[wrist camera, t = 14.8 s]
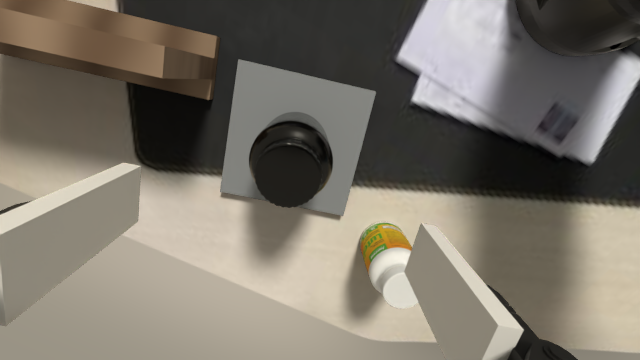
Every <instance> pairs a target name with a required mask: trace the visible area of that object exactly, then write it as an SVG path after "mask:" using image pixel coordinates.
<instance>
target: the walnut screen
mask: <svg viewBox="0 0 640 360" xmlns="http://www.w3.org/2000/svg"><path fill="white" fill-rule="evenodd" d="M219 44H220V38H219V37H217V36H213V35H209V34H205V33H201V32H197V31H193V30H188V29H184V28H180V27H176V26H172V25H168V24H163V23H159V22H155V21H151V20H147V19H143V18H139V17H134V16H130V15H126V14H122V13H118V12H114V11H109V10H105V9H101V8H97V7H93V6H89V5H85V4H80V3H76V2H72V1H68V0H0V54H4V55H9V56H13V57H18V58H22V59H27V60H31V61H36V62H40V63H45V64H49V65H54V66H58V67H63V68H67V69H72V70H76V71H81V72H85V73H90V74H94V75H99V76H103V77H108V78H112V79H117V80H121V81H126V82H130V83H135V84H139V85H144V86H148V87H153V88H158V89H162V90H167V91H171V92H176V93H180V94H185V95H189V96H194V97H198V98H203V99H207V100H212V99H213V94H214V86H215V77H216V69H217V61H218V52H219Z"/></svg>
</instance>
